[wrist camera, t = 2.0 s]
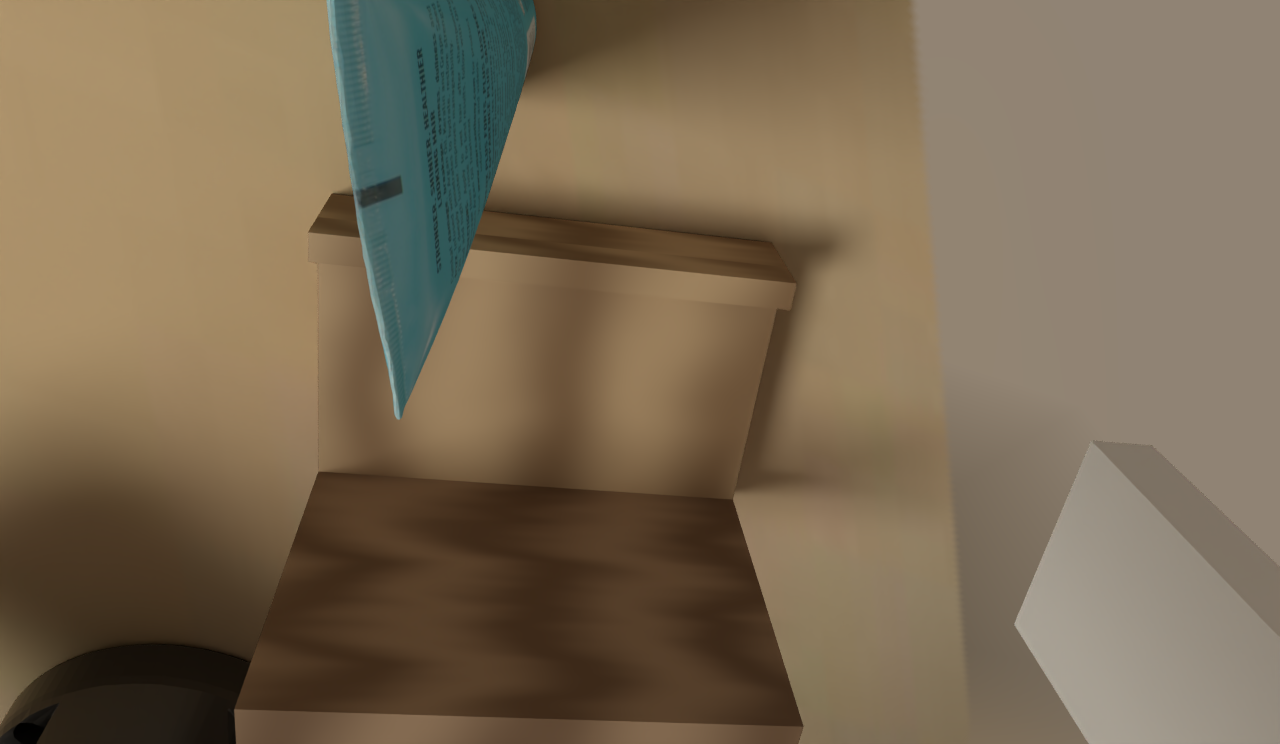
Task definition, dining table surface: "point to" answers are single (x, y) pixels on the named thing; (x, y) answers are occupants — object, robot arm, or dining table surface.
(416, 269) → the tube
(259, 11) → the dining table surface
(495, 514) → the brown piece
